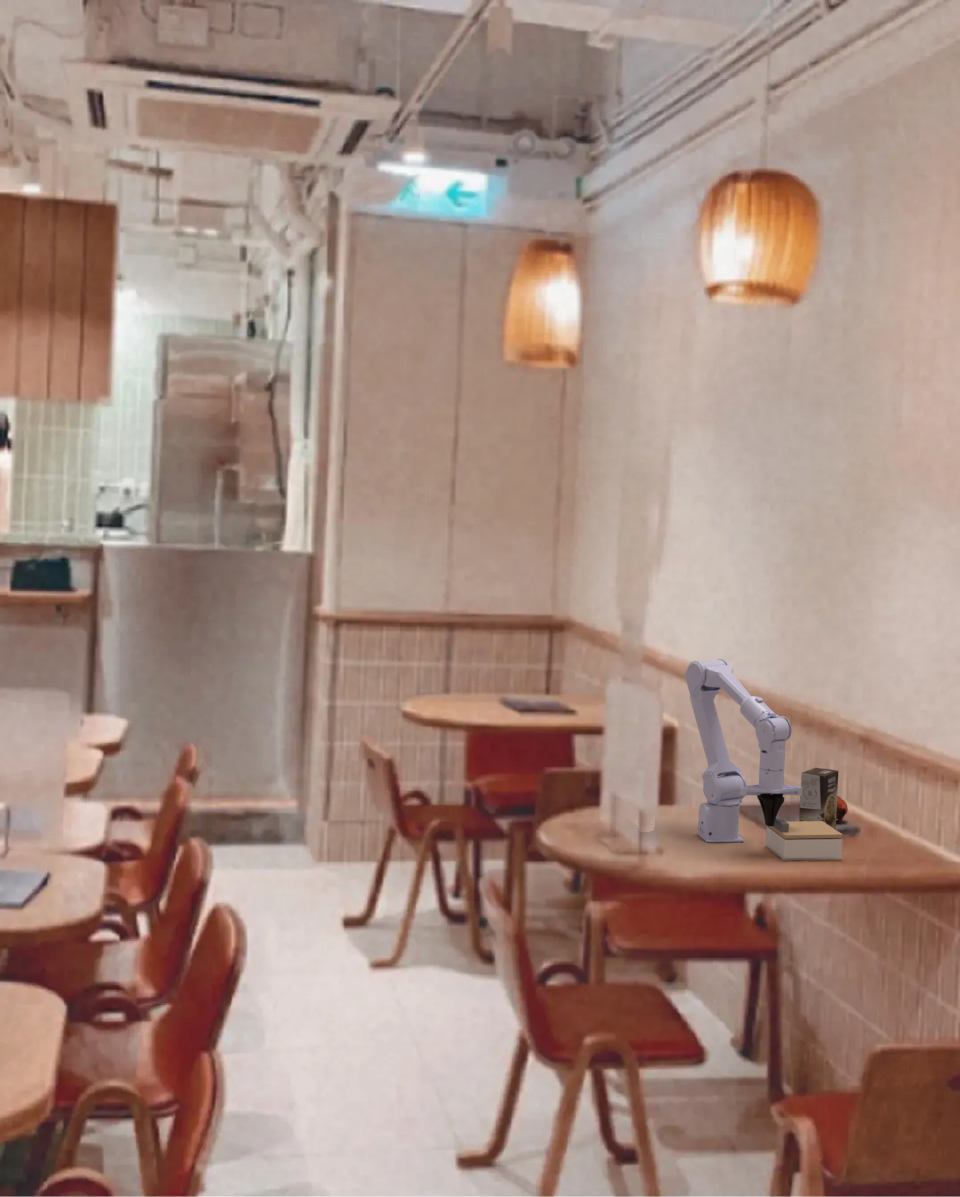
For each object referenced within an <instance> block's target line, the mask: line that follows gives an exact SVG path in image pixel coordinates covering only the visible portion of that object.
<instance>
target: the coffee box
mask: <svg viewBox="0 0 960 1197" xmlns="http://www.w3.org/2000/svg"><path fill="white" fill-rule="evenodd" d="M800 777H801V780H800V781H801V782H800V787H802V795H799V813H798V814H799V815H798V821H823V822H825V823H826V824H828V825H829V826H831V827H832V828H834V829H836V828H837V821H836V810H837V796H838V789H839V788H838V787H839V770H836V769H830V768H821V767H820V768H819V767H814V768H811V769H809V770H805V771H803V772H801V776H800ZM836 830H837V829H836Z"/></svg>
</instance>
